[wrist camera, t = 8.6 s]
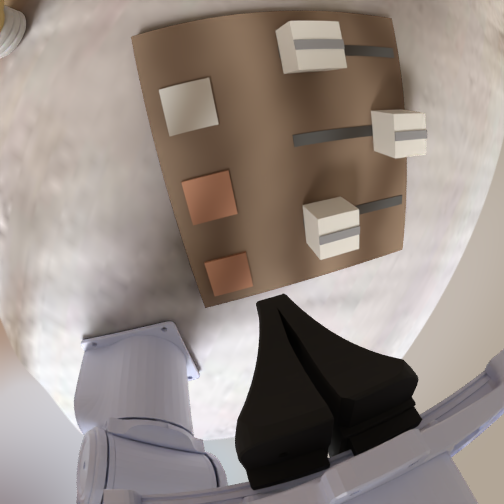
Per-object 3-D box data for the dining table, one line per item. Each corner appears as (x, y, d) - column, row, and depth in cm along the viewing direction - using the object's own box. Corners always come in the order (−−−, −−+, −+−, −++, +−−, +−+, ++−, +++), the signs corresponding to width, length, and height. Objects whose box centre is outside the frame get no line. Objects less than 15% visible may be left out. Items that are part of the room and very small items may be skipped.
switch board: (204, 300, 24) (205, 309, 23) (133, 40, 13) (130, 36, 12) (396, 244, 25) (403, 250, 24) (383, 20, 15) (393, 18, 14)
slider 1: (283, 73, 16) (299, 69, 13) (275, 30, 14) (290, 20, 12) (327, 70, 16) (348, 68, 14) (319, 29, 14) (339, 21, 12)
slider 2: (306, 242, 22) (321, 260, 19) (302, 205, 20) (318, 220, 18) (342, 233, 22) (359, 249, 20) (340, 196, 20) (359, 209, 18)
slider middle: (373, 150, 19) (396, 159, 17) (370, 110, 18) (394, 114, 15) (404, 147, 20) (427, 154, 17) (402, 109, 18) (426, 113, 16)
